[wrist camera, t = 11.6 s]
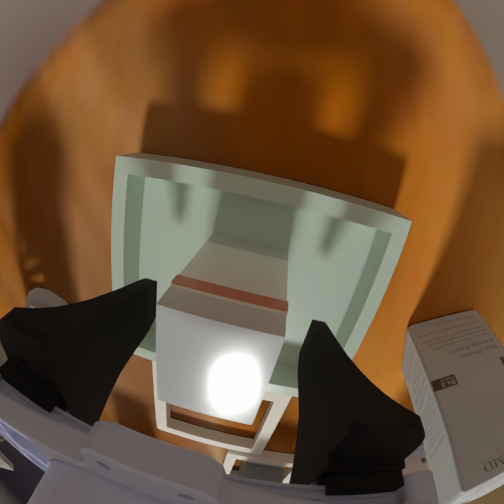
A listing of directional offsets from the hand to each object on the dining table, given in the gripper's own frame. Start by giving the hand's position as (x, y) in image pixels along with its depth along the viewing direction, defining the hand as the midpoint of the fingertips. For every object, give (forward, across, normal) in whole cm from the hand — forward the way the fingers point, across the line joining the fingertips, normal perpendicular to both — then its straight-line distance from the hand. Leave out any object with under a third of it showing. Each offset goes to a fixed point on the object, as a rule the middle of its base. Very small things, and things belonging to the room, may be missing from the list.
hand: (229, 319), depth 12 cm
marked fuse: (+3, 0, 0) cm, 3 cm away
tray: (+4, 0, 0) cm, 4 cm away
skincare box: (+4, -14, +2) cm, 15 cm away
